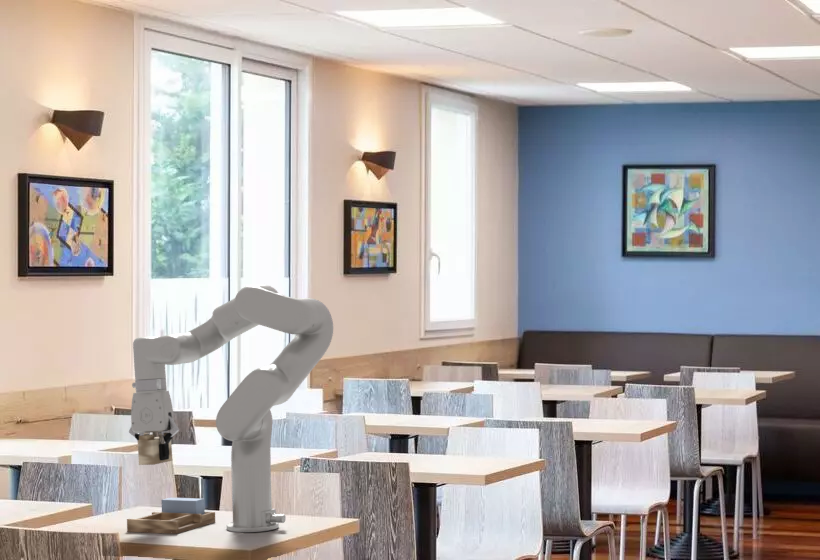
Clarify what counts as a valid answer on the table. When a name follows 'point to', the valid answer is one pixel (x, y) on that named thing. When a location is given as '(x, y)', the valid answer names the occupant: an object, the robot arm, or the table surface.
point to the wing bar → (183, 505)
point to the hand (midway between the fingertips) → (155, 459)
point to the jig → (169, 522)
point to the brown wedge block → (151, 450)
